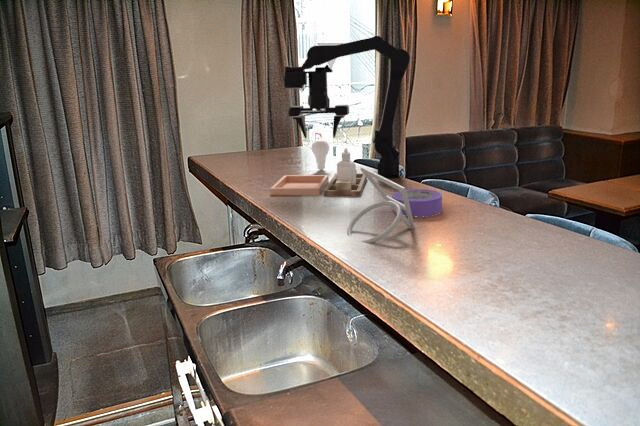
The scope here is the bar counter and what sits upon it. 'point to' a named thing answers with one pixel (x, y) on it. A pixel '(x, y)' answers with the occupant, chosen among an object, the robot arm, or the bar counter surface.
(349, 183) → the block
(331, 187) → the frame
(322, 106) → the robot arm
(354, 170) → the eye dropper bottle
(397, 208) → the wire frame
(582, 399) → the bar counter surface
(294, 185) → the tray
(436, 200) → the tape roll
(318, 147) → the lightbulb
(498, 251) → the bar counter surface
